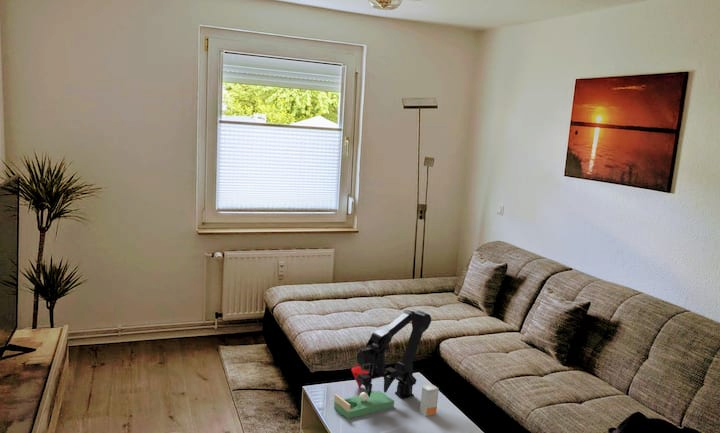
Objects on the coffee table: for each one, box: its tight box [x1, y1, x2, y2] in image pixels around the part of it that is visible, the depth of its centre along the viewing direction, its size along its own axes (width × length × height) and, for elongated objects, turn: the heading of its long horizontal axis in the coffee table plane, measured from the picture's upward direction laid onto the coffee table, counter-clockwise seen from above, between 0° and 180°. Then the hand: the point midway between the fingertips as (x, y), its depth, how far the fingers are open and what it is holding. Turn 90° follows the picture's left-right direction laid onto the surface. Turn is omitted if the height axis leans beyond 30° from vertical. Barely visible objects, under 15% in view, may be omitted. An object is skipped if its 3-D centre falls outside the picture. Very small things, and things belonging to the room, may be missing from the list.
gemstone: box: [350, 365, 370, 388], centre depth 264 cm, size 9×9×10 cm
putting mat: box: [333, 390, 395, 420], centre depth 245 cm, size 24×11×6 cm, turn 124°
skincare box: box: [419, 384, 440, 417], centre depth 243 cm, size 6×4×12 cm
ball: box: [358, 391, 369, 402], centre depth 245 cm, size 4×4×4 cm
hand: (376, 394), depth 249 cm, fingers open, 8 cm apart
